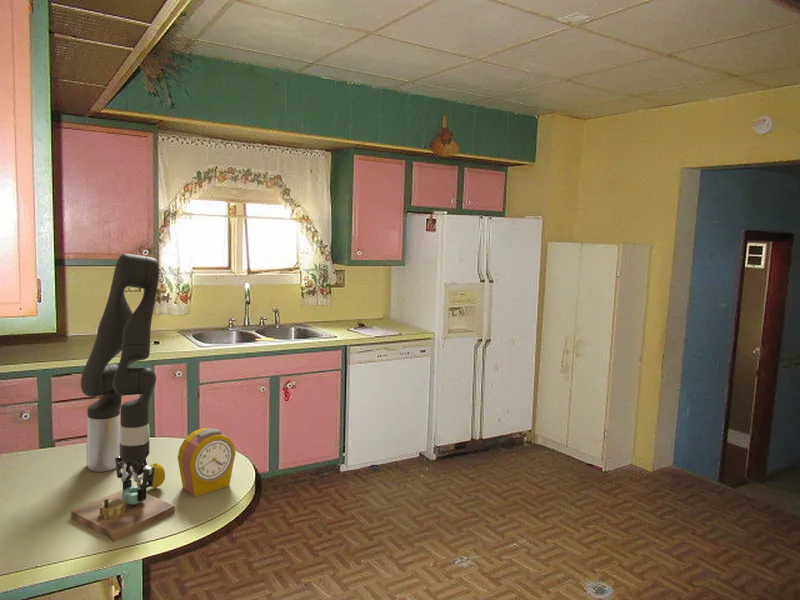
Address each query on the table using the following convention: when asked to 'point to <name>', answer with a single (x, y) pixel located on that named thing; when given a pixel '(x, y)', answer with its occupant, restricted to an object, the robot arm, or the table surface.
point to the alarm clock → (206, 461)
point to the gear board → (121, 514)
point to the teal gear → (130, 495)
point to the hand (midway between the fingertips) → (134, 496)
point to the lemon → (158, 475)
